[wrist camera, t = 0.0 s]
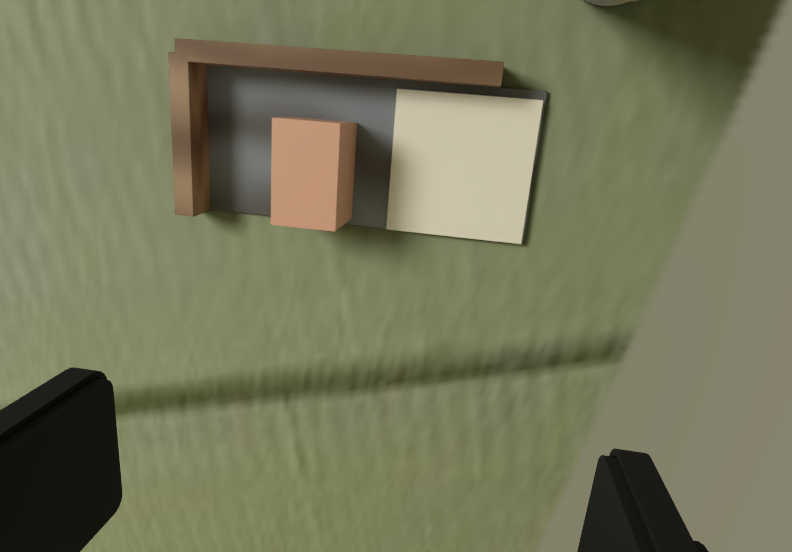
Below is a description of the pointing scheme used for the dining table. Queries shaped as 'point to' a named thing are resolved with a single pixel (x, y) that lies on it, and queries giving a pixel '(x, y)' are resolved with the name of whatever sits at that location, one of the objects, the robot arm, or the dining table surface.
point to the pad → (462, 164)
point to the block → (312, 172)
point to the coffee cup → (608, 2)
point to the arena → (298, 115)
